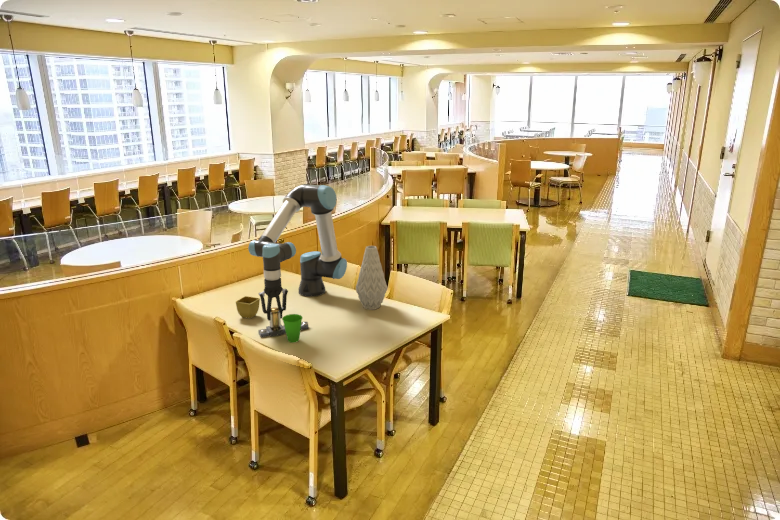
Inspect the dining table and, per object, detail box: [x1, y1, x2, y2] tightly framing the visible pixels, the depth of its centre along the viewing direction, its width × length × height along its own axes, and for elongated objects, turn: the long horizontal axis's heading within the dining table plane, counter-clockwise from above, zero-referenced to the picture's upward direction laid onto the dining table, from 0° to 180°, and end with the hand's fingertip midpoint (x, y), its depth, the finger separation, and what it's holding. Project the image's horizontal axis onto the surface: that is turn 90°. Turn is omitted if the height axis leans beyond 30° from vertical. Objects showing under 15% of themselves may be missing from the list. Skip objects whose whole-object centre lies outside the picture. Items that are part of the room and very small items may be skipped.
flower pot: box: [235, 295, 261, 319], centre depth 266 cm, size 9×9×9 cm
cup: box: [281, 313, 303, 343], centre depth 240 cm, size 9×9×11 cm
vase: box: [355, 245, 388, 311], centre depth 276 cm, size 17×17×33 cm
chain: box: [257, 321, 309, 338], centre depth 250 cm, size 23×7×2 cm, turn 117°
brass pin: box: [271, 306, 279, 330], centre depth 247 cm, size 4×4×12 cm
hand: (275, 325), depth 248 cm, fingers closed on brass pin, 3 cm apart
